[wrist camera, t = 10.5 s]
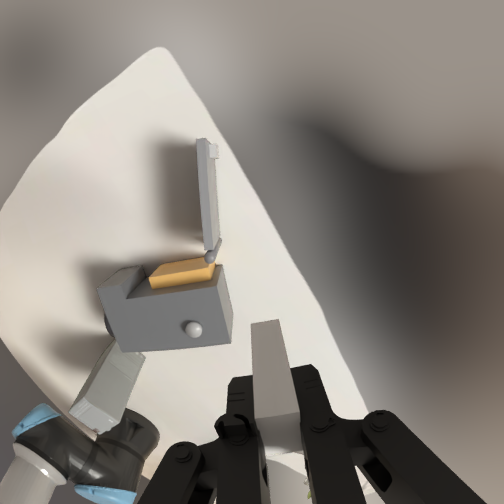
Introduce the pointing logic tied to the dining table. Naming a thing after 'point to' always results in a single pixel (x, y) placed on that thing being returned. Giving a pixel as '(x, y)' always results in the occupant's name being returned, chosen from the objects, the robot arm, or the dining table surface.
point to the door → (208, 191)
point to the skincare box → (107, 389)
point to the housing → (169, 306)
